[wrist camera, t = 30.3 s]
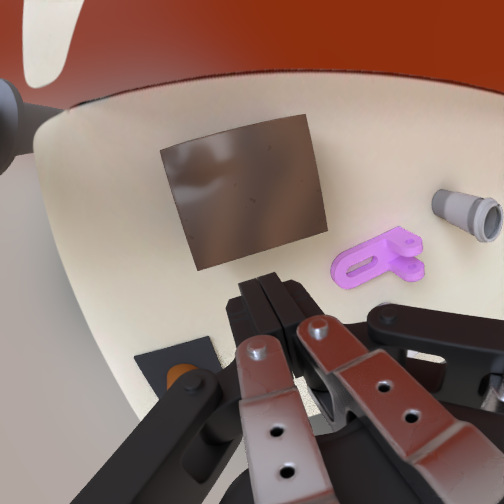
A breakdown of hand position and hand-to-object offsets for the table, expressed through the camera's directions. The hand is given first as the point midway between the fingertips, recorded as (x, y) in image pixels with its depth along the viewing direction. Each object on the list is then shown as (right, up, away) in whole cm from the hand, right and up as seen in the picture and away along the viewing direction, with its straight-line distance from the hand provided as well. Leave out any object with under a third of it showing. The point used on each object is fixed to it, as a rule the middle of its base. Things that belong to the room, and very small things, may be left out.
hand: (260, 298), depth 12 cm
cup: (+31, +10, +33) cm, 46 cm away
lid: (-1, +8, +18) cm, 20 cm away
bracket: (+17, +1, +33) cm, 37 cm away
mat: (-11, -17, +34) cm, 39 cm away
